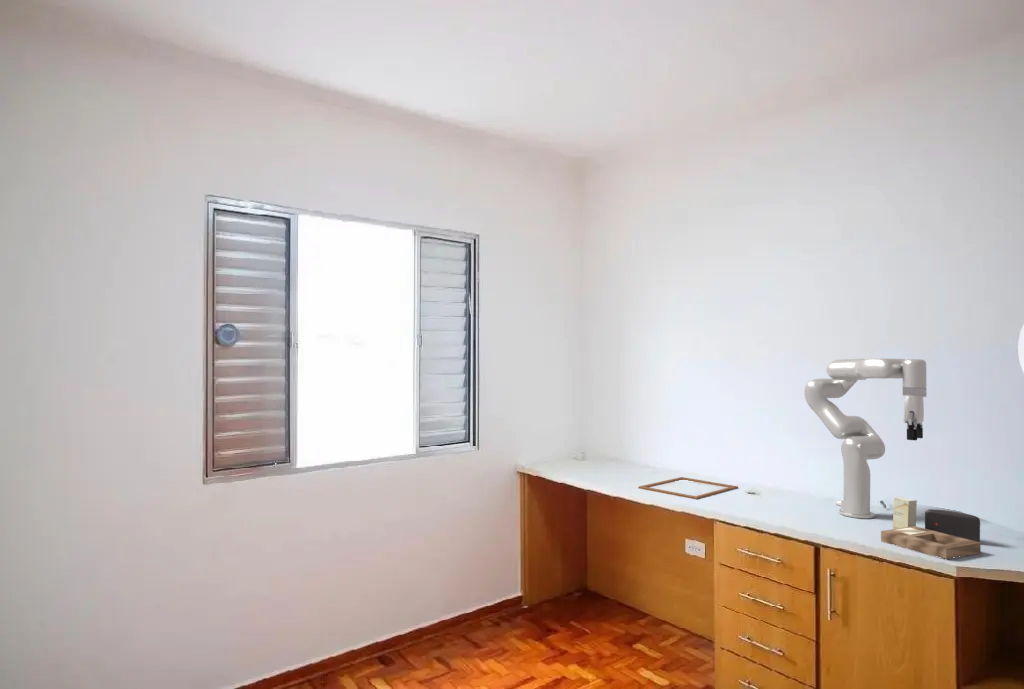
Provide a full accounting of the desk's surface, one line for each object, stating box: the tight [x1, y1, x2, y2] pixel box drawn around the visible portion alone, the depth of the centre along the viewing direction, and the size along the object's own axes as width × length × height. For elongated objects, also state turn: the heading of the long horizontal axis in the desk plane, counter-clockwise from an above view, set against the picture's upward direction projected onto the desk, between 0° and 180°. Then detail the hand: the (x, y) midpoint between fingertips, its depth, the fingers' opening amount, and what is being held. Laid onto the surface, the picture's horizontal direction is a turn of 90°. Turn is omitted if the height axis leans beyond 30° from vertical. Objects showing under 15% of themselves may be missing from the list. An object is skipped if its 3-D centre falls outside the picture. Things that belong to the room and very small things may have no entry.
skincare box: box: [892, 496, 918, 529], centre depth 239 cm, size 6×4×12 cm
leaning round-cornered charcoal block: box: [924, 508, 981, 543], centre depth 231 cm, size 16×5×9 cm, turn 47°
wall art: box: [637, 476, 739, 500], centre depth 312 cm, size 31×2×38 cm
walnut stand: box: [880, 525, 982, 560], centre depth 220 cm, size 22×18×4 cm
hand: (914, 439), depth 241 cm, fingers open, 9 cm apart
